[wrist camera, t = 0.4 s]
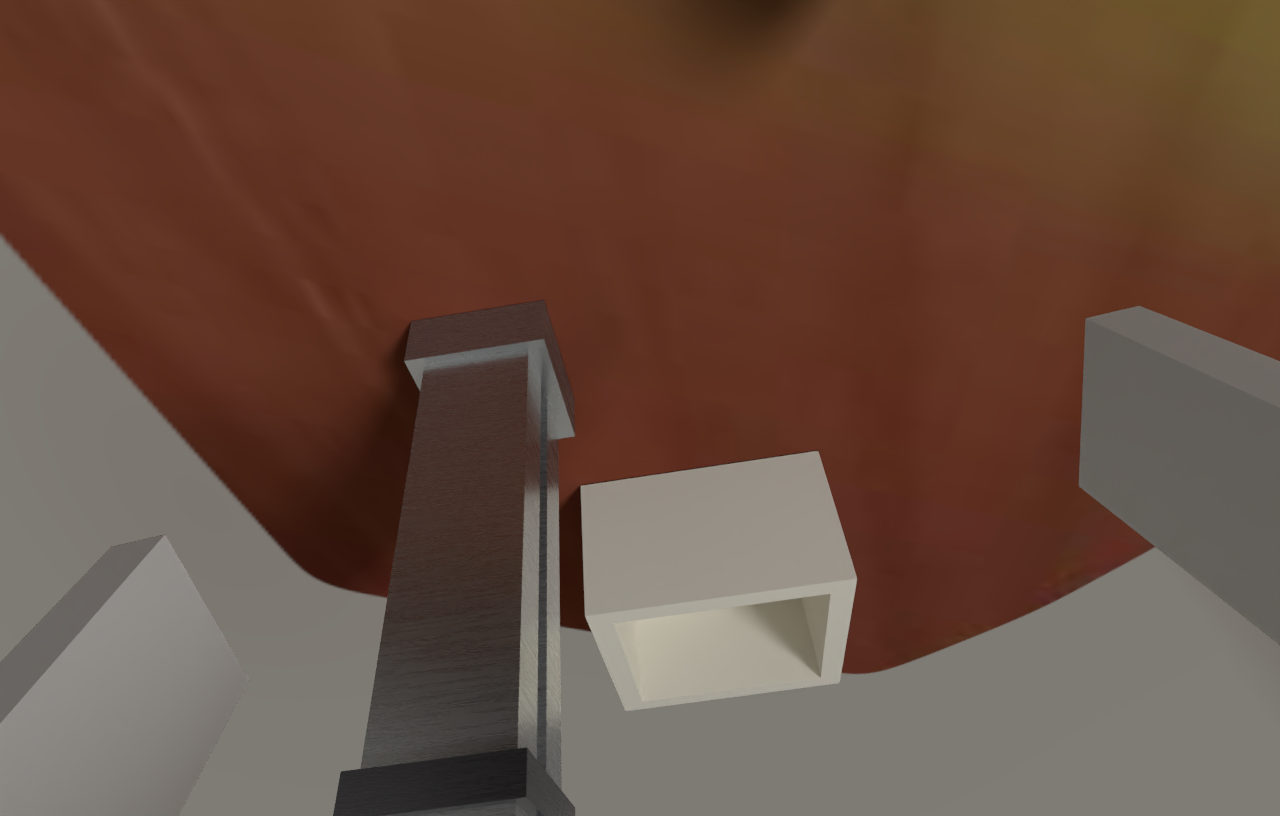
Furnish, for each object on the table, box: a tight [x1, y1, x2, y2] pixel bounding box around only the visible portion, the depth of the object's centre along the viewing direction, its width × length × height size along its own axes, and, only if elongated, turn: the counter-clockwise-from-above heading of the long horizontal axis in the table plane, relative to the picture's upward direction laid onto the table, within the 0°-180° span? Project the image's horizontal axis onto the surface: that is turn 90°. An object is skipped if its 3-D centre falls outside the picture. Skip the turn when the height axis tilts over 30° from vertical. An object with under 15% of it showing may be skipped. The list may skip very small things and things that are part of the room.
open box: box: [581, 451, 857, 711], centre depth 36 cm, size 11×11×6 cm
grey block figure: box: [333, 300, 575, 816], centre depth 22 cm, size 5×5×20 cm
